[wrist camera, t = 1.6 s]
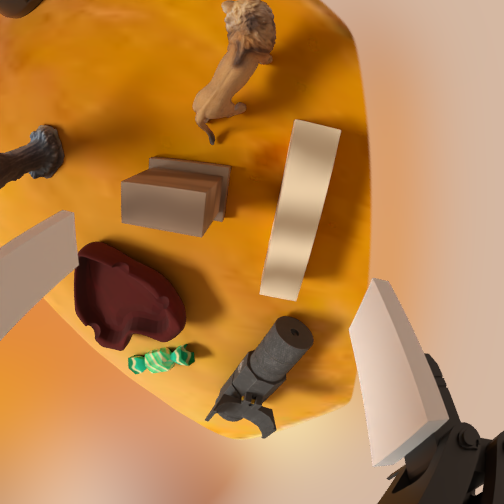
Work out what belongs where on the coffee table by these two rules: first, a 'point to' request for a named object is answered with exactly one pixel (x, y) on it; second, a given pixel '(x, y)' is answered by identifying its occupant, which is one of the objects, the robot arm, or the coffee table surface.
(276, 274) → the block
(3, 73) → the coffee table surface
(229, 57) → the lion figurine
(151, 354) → the candy
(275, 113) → the coffee table surface
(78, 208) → the coffee table surface
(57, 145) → the antler
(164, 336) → the ashtray
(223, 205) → the pedestal
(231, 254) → the coffee table surface
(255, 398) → the laser sight
